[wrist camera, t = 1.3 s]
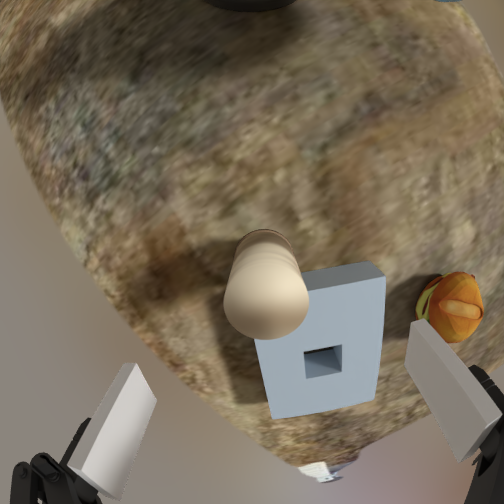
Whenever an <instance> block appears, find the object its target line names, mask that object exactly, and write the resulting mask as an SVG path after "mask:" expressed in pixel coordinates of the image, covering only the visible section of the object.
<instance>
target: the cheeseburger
mask: <svg viewBox="0 0 504 504" xmlns="http://www.w3.org/2000/svg"><path fill="white" fill-rule="evenodd" d="M483 314H484V309H483V304H482V299H481V295H480V291H479V287H478V285H477V282H476V281H475V276H474V275H471V276H470V275H469V274H467V273H465V272H454V273H446V274H444V275H443V276H440V277H437V278H436V279H434V280H433V281H432V282H430V283H429V284H428V285H427V286H426V287H425V289H424V290H423V291H422V292H421V294H420V296H419V299H418V301H417V303H416V310H415V317H416V319H417V320H420V319H423V318H424V319H425V320H426V321H427V322H428V323H429V324H430V325H431V326H432V327H433V329H434V330H435V331H436V332H437V333H438V334H439V335H440V336H441V337H442V339H443V340H444V341H445V342H447V343H458V342H461V341H463V340H465V339H467V338H468V337H469V336H470V335H471V334H472V333H473V332H474V331H475V329H476V328H477V326H478V325H479V323H480V321H481V320H482V317H483Z"/></svg>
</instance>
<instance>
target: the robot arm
mask: <svg viewBox="0 0 504 504" xmlns="http://www.w3.org/2000/svg"><path fill="white" fill-rule="evenodd" d="M204 1H206V2H208V3H209V4H212V5H214V6H216V7H220V8H223V9H227V10H233V11H243V12H255V11H266V10H272V9H276V8H280V7H283V6H286V5H289V4H291V3H293V2H295V1H296V0H204ZM435 1H439V2H457V1H461V0H435ZM404 366H405V368H406V370H407V371H408V373H409V374H410V376H411V378H412V379H413V381H414V383H415V384H416V386H417V388H418V389H419V391H420V393H421V395H422V396H423V398H424V400H425V401H426V403H427V405H428V407H429V408H430V410H431V412H432V414H433V415H434V417H435V419H436V421H437V423H438V425H439V427H440V428H441V430H442V432H443V434H444V436H445V438H446V440H447V442H448V444H449V446H450V448H451V449H452V452H453V453H454V455H455V458H456V460H457V462H458V463H460V462H462V461H464V460H465V459H467V458H469V457H470V456H472V455H473V454H474V453H475V452H476V451H477V449H478V448H480V450H481V453H480V454H479V455H478V456H477V458H476V459H475V460H474V461H473V464H472V465H475V463H476V462H477V461H478V463H477V467H476V470H475V473H474V476H473V480H472V483H471V486H470V489H469V492H468V495H467V497H466V500H465V503H464V504H504V395H503V393H502V392H501V391H500V389H499V388H498V387H497V386H496V385H495V383H494V382H493V381H492V379H490V377H489V376H488V375H487V373H486V372H485V371H484V370H483V369H481V368H479V367H478V366H476V365H472V366H471V367H469V368H467V367H466V366H465V364H464V363H463V362H462V361H461V359H460V358H459V357H458V356H457V355H456V354H455V352H454V351H453V350H452V349H451V348H450V347H449V345H448V344H447V343H446V342H445V341H444V340H443V339H442V337H441V336H440V335H439V334H438V333H437V332H436V331H435V330H434V329H433V327H432V326H431V325H430V324H429V323H428V322H427V321H426V320H425V319H424V318H423V319H420V320H417V321H414V322H411V326H410V333H409V340H408V346H407V352H406V358H405V363H404ZM156 401H157V400H156V398H155V396H154V395H153V393H152V391H151V389H150V388H149V386H148V384H147V382H146V380H145V378H144V377H143V375H142V373H141V371H140V369H139V367H138V365H137V363H124V364H123V366H122V367H121V369H120V371H119V372H118V374H117V376H116V377H115V379H114V381H113V382H112V384H111V386H110V387H109V389H108V391H107V393H106V394H105V396H104V398H103V399H102V401H101V403H100V405H99V406H98V408H97V410H96V412H95V413H94V415H93V417H92V418H87V419H86V420H85V421H84V422H83V423H82V424H81V425H80V427H79V428H78V430H77V432H76V433H77V434H75V436H74V437H73V441H71V443H70V445H69V447H68V448H67V450H66V452H65V454H64V456H63V458H62V460H61V461H60V463H59V464H58V463H57V462H56V461H55V460H54V459H53V458H52V457H51V456H50V455H49V454H47V453H38V454H36V455H35V456H34V457H33V458H32V460H31V462H30V465H29V464H28V463H27V462H20V463H18V464H17V465H16V466H15V467H14V470H13V476H12V485H11V495H10V504H39V503H38V498H39V499H40V500H42V504H102V502H101V500H100V498H99V497H98V495H97V493H98V491H99V492H100V493H102V494H103V495H105V496H106V497H109V498H112V499H115V500H118V501H120V500H121V497H122V494H123V491H124V488H125V485H126V482H127V480H128V477H129V474H130V471H131V468H132V465H133V463H134V460H135V457H136V454H137V452H138V449H139V446H140V443H141V441H142V438H143V435H144V433H145V430H146V427H147V425H148V422H149V419H150V417H151V414H152V412H153V409H154V407H155V404H156Z"/></svg>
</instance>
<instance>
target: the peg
mask: <svg viewBox="0 0 504 504" xmlns="http://www.w3.org/2000/svg"><path fill="white" fill-rule="evenodd" d="M308 308H309V296H308V292H307V289H306V286H305V283H304V281H303V278H302V275H301V273H300V270H299V267H298V265H297V262H296V260H295V257H294V252H293V249H292V246H291V245H290V243H289V241H288V240H287V239H286V238H285V237H284V236H283V235H282V234H280V233H278V232H276V231H273V230H269V229H259V230H255V231H252V232H250V233H248V234H247V235H245V236H244V237H243V238H242V239H241V240H240V241H239V243H238V245H237V247H236V249H235V253H234V261H233V264H232V268H231V272H230V276H229V280H228V284H227V287H226V291H225V295H224V311H225V314H226V317H227V319H228V321H229V322H230V323H231V325H232V326H233V327H234V328H235V329H236V330H237V331H239V332H240V333H242V334H243V335H245V336H248V337H250V338H254V339H259V340H273V339H278V338H281V337H284V336H286V335H288V334H290V333H291V332H293V331H294V330H295V329H297V328H298V327H299V326H300V324H301V323H302V322H303V320H304V319H305V317H306V315H307V312H308Z"/></svg>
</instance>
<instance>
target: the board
mask: <svg viewBox="0 0 504 504" xmlns="http://www.w3.org/2000/svg"><path fill="white" fill-rule="evenodd" d="M301 275H302V278H303V281H304V283H305V286H306V289H307V292H308V296H309V308H308V312H307V315H306V317H305V319H304V320H303V322H302V323H301V324H300V326H299V327H298V328H297V329H295V330H294V331H293V332H291V333H290V334H288V335H286V336H284V337H281V338H278V339H273V340H259V339H254V340H255V345H256V350H257V354H258V359H259V363H260V368H261V372H262V376H263V381H264V385H265V390H266V394H267V398H268V403H269V407H270V411H271V416H272V419H280V418H287V417H295V416H301V415H307V414H313V413H319V412H324V411H329V410H334V409H338V408H343V407H347V406H351V405H355V404H359V403H363V402H367V401H371V400H374V397H375V391H376V385H377V379H378V372H379V364H380V356H381V348H382V338H383V326H384V312H385V290H386V276H385V275H384V274H383V273H382V272H381V271H380V270H379V269H378V268H377V267H376V266H375V265H374V264H373V263H371V262H370V261H364V262H359V263H353V264H348V265H342V266H337V267H331V268H325V269H320V270H314V271H308V272H302V273H301ZM331 346H333V349H330V350H325V351H320V352H314V353H309V354H304V351H310V350H315V349H321V348H326V347H331Z"/></svg>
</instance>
